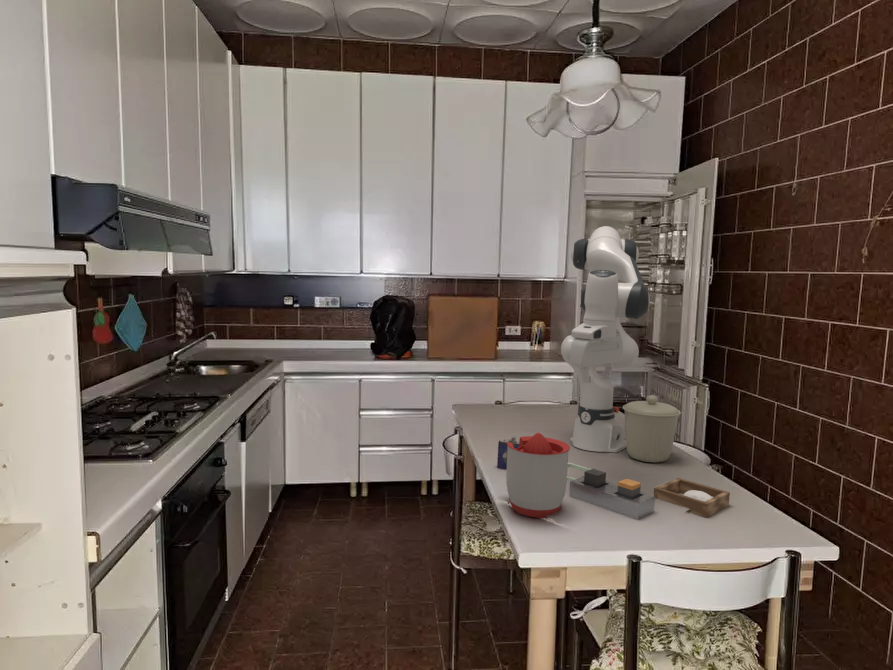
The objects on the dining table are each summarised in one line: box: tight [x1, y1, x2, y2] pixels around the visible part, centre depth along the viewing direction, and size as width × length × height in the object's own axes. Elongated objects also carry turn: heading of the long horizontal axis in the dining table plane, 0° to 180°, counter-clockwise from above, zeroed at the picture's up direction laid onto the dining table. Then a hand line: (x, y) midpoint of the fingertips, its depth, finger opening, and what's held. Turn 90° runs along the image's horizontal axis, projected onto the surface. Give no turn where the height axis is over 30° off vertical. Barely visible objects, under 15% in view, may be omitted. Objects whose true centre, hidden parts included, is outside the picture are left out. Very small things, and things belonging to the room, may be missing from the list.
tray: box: [567, 461, 592, 482], centre depth 184 cm, size 12×12×2 cm
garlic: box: [682, 490, 713, 502], centre depth 164 cm, size 8×7×4 cm
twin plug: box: [583, 468, 607, 488], centre depth 164 cm, size 4×4×7 cm
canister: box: [622, 394, 682, 463], centre depth 204 cm, size 18×18×21 cm
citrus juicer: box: [503, 432, 571, 519], centre depth 157 cm, size 16×17×20 cm
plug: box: [617, 478, 642, 500], centre depth 157 cm, size 4×4×7 cm
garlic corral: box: [653, 477, 731, 519], centre depth 166 cm, size 13×14×4 cm
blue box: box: [496, 435, 519, 471], centre depth 187 cm, size 9×3×11 cm, turn 78°
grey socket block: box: [568, 475, 656, 520], centre depth 161 cm, size 8×20×5 cm, turn 43°
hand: (596, 380), depth 170 cm, fingers open, 8 cm apart
